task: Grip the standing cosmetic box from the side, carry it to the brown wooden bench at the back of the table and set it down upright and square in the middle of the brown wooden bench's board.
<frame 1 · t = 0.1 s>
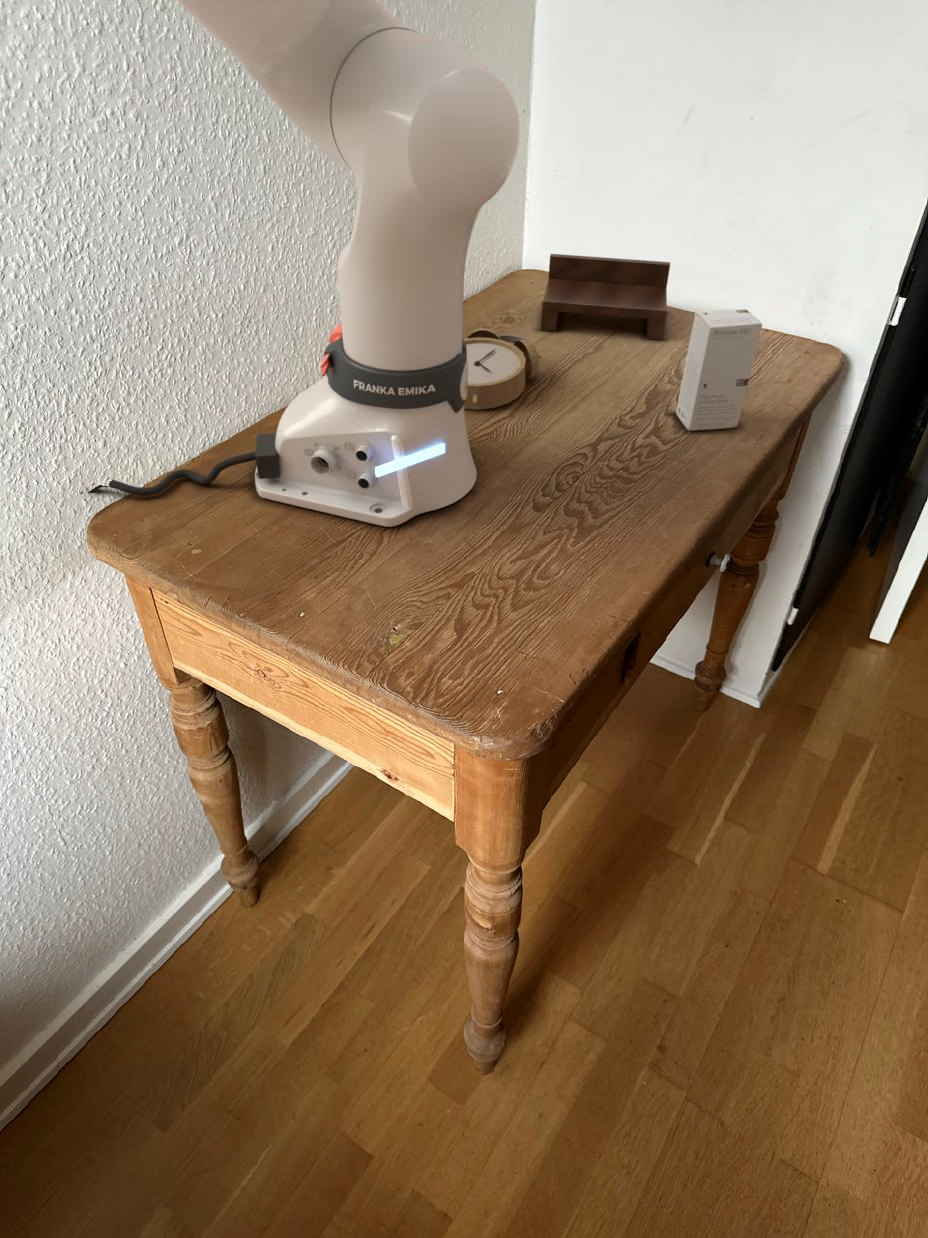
alarm clock: (486, 383, 109), on the table
cosmetic box: (706, 421, 103), on the table
brown wooden bench: (602, 321, 123), on the table
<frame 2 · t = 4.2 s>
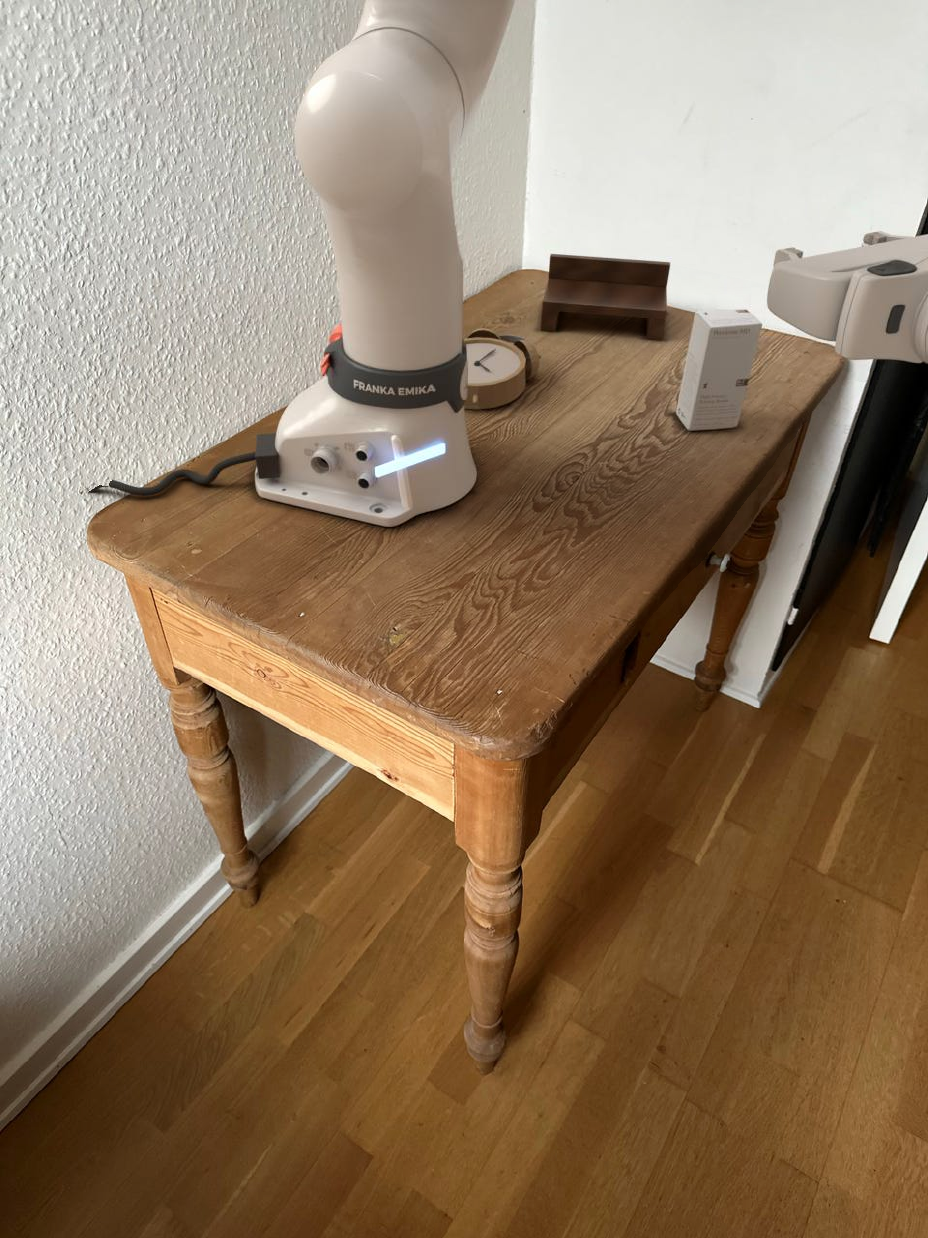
hand: (825, 249, 80), 23 cm above the table, tool horizontal, fingers open, 8 cm apart
nothing on the table moved.
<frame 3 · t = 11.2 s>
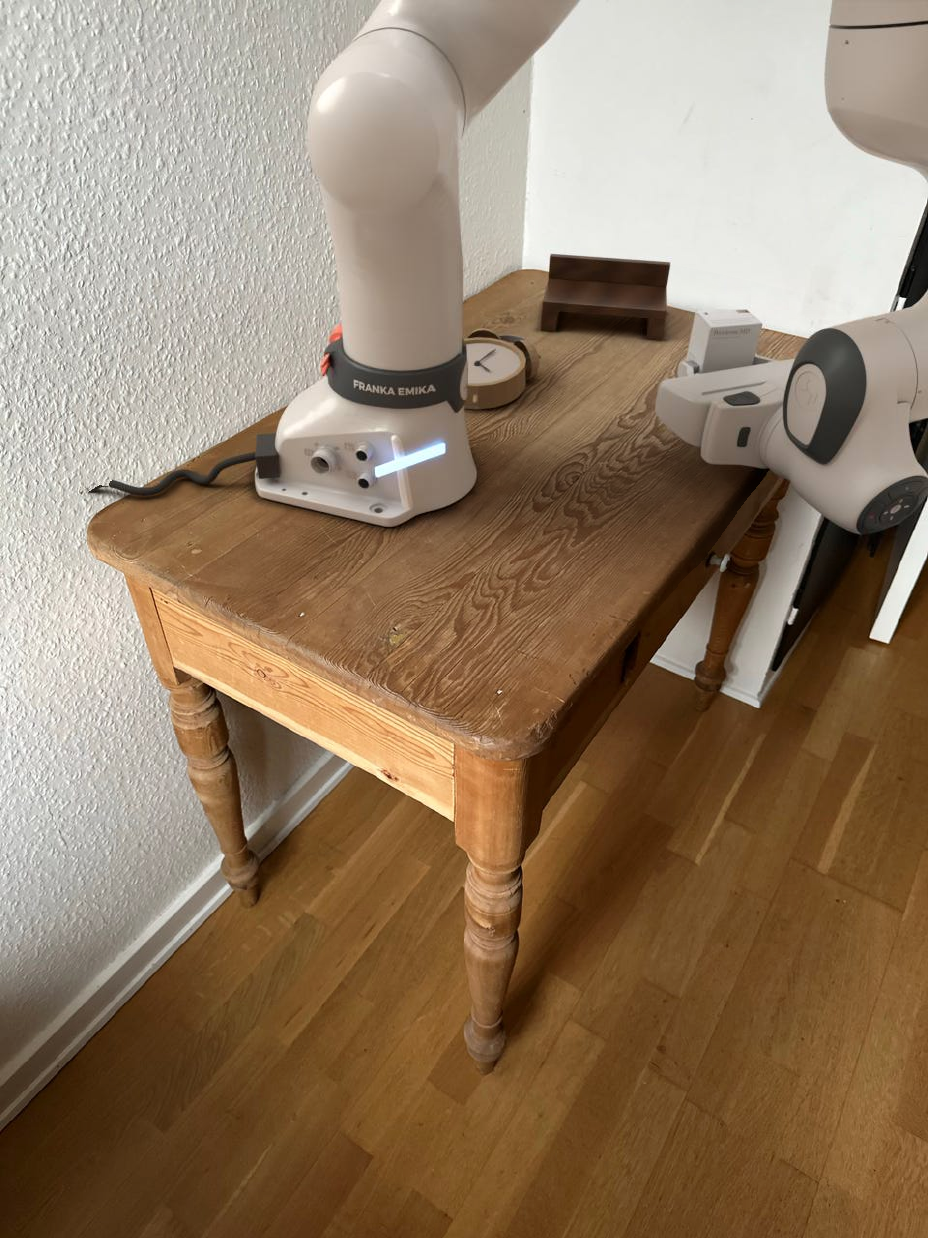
hand: (713, 362, 99), 7 cm above the table, tool horizontal, fingers closed on cosmetic box, 6 cm apart
cosmetic box: (706, 421, 103), on the table, touching gripper
everything else where it was.
when the fingers open (11 cm above the table, at t = 21.3 s): cosmetic box stays where it is, resting on brown wooden bench.
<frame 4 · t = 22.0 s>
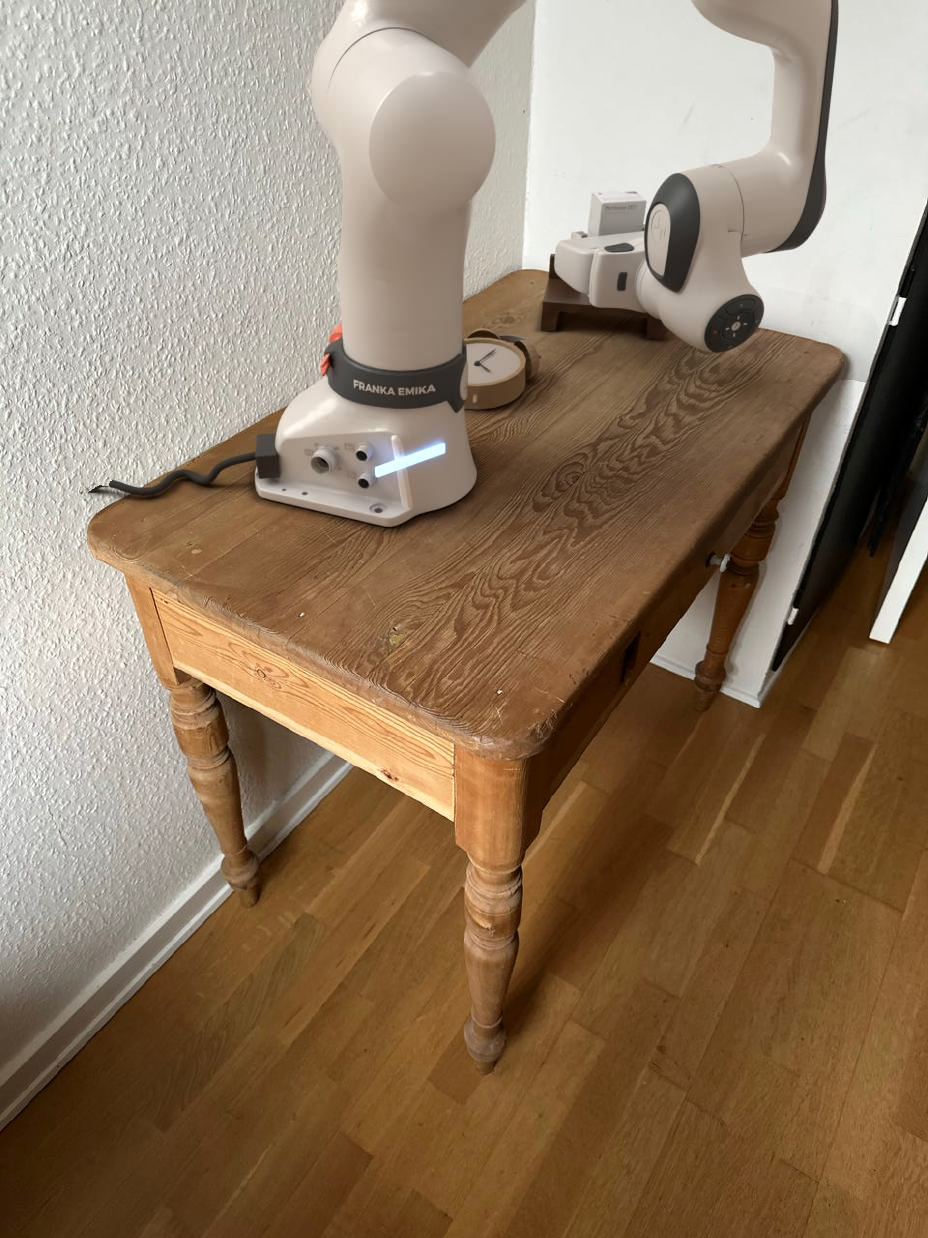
hand: (609, 233, 116), 11 cm above the table, tool horizontal, fingers open, 8 cm apart
cosmetic box: (607, 293, 120), point 4 cm above the table, touching brown wooden bench
everything else where it was.
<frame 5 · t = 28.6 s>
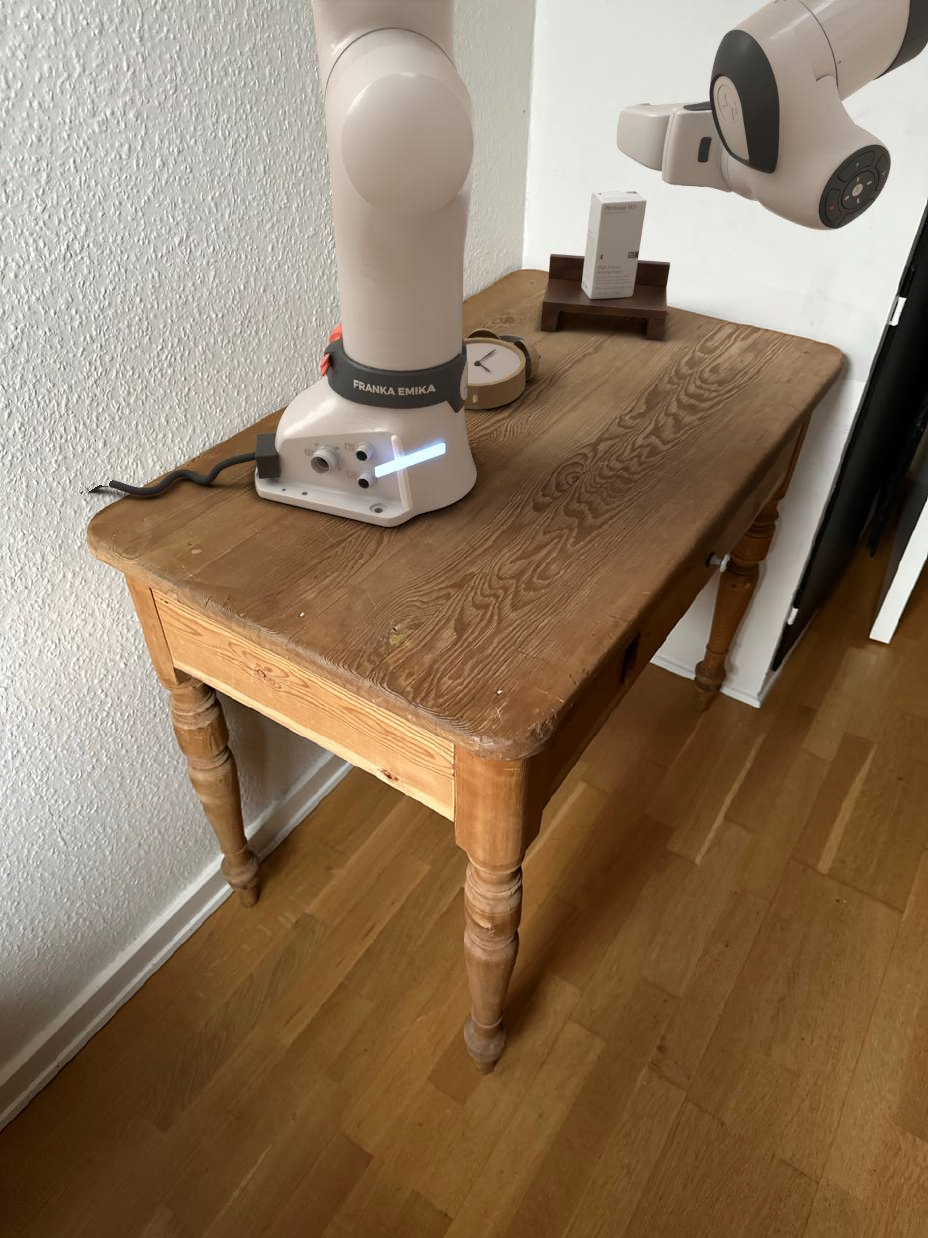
hand: (678, 108, 96), 28 cm above the table, tool horizontal, fingers open, 8 cm apart
nothing on the table moved.
at the end: cosmetic box 0.4 cm off-centre on the brown wooden bench, point 3.8 cm above the brown wooden bench's base; cosmetic box tilted 0°; the gripper is holding nothing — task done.
